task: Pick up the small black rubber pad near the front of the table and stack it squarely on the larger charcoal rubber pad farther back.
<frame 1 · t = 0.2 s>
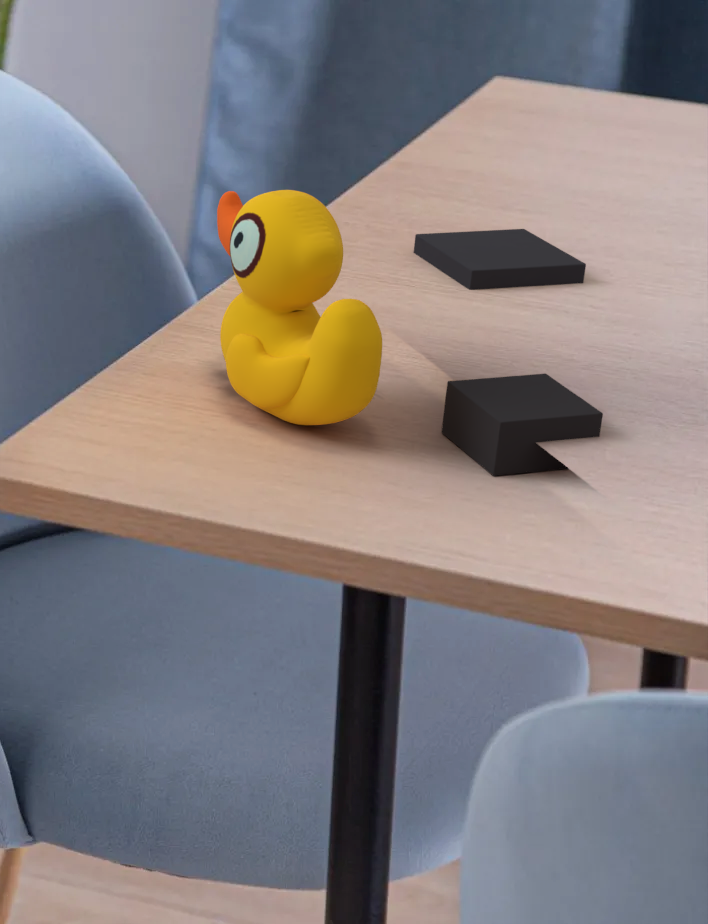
base pad: (493, 291, 99), on the table
top pad: (516, 449, 78), on the table
duckling: (284, 415, 81), on the table
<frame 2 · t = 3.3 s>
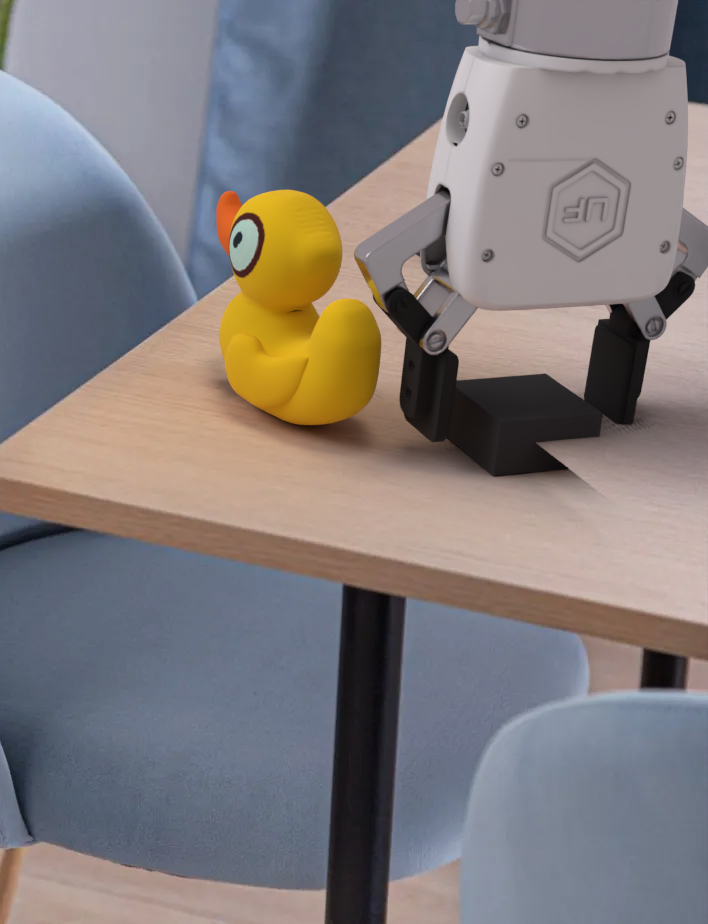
hand: (517, 421, 78), 1 cm above the table, tool pointing down, fingers open, 8 cm apart
nothing on the table moved.
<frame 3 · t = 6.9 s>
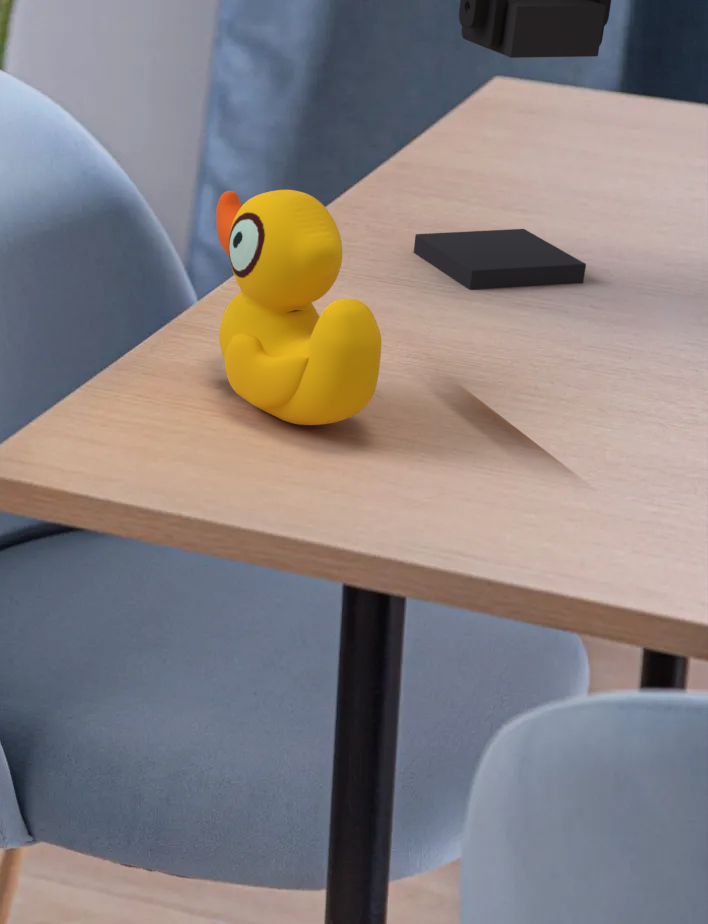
hand: (531, 38, 90), 15 cm above the table, tool pointing down, fingers closed on top pad, 5 cm apart
top pad: (529, 47, 90), point 14 cm above the table, touching gripper
everything else where it was.
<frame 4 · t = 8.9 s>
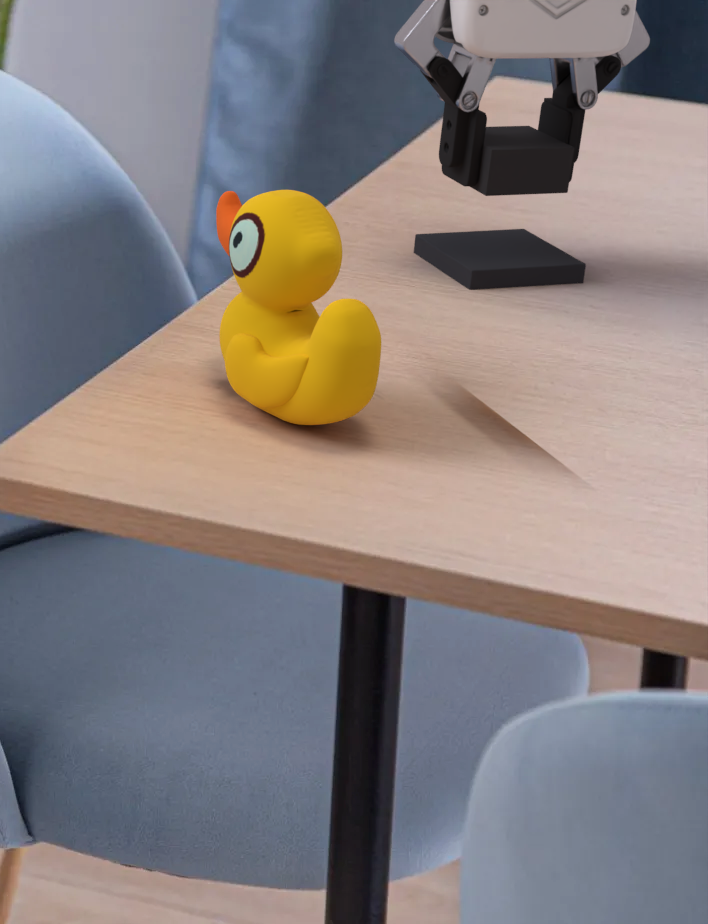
hand: (506, 174, 96), 7 cm above the table, tool pointing down, fingers closed on top pad, 5 cm apart
top pad: (504, 182, 97), point 6 cm above the table, touching gripper
everything else where it was.
when the fingers open (3 cm above the table, at t = 10.2 s): top pad stays where it is, resting on base pad.
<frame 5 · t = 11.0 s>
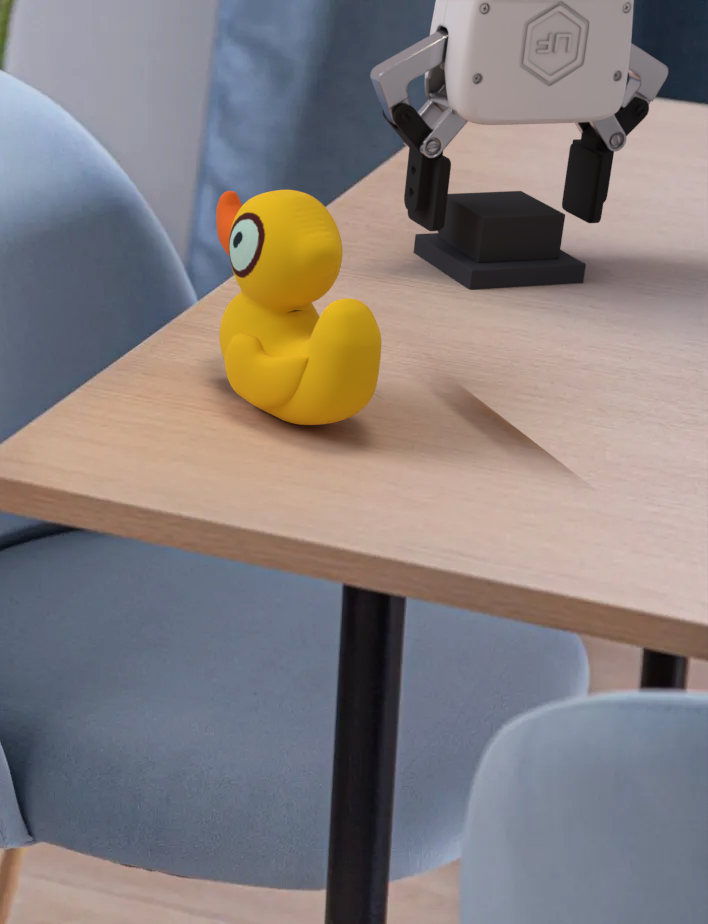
hand: (503, 220, 97), 4 cm above the table, tool pointing down, fingers open, 9 cm apart
base pad: (493, 291, 99), on the table, touching top pad
top pad: (497, 247, 98), point 2 cm above the table, touching base pad
everything else where it was.
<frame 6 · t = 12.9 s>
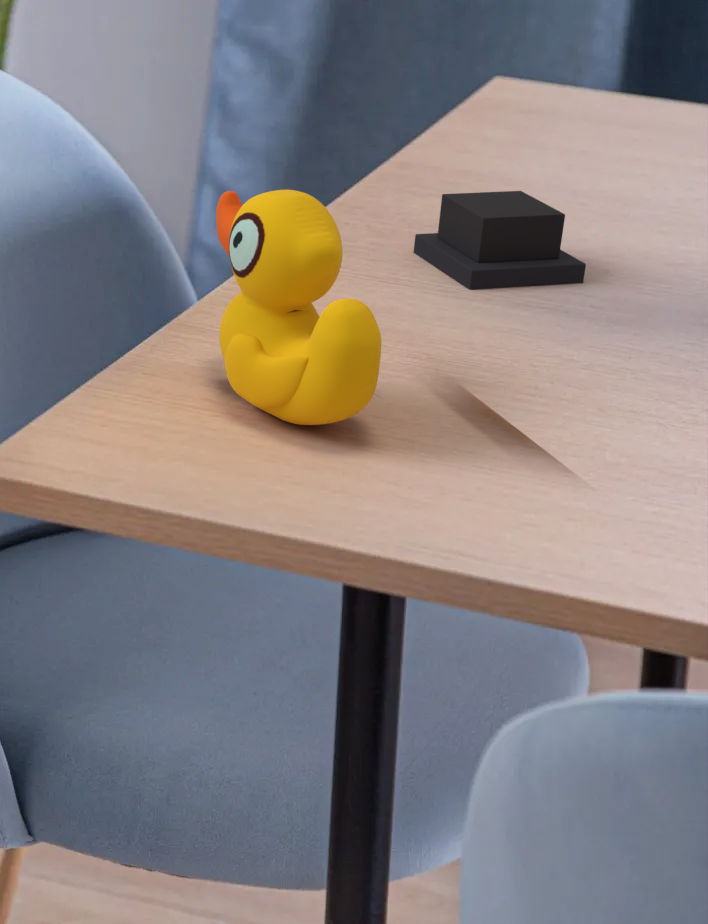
nothing on the table moved.
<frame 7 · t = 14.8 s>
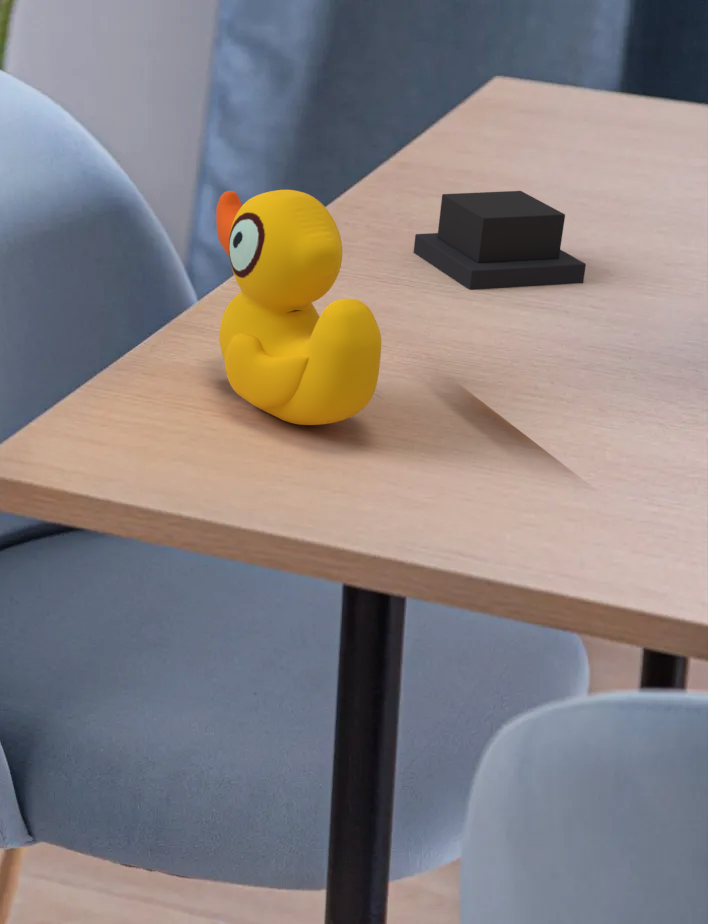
nothing on the table moved.
at the end: top pad 0.1 cm off-centre on the base pad, point 2.5 cm above the base pad's base; top pad tilted 0°; the gripper is holding nothing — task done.
